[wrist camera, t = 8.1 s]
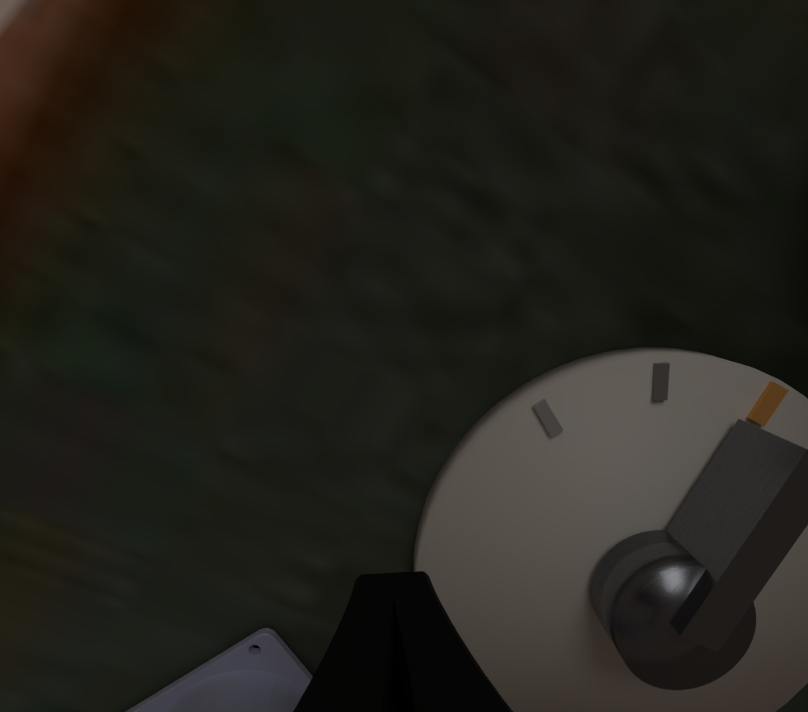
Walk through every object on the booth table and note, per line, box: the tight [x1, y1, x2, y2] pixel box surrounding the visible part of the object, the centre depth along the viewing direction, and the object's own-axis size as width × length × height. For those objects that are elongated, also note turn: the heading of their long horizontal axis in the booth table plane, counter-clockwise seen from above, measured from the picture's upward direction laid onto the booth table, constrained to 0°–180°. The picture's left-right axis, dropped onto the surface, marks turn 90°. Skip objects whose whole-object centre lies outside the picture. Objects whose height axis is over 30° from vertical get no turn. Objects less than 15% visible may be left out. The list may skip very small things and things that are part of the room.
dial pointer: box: [590, 419, 808, 690], centre depth 18 cm, size 10×5×3 cm, turn 153°
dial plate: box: [413, 347, 808, 712], centre depth 20 cm, size 19×19×2 cm
